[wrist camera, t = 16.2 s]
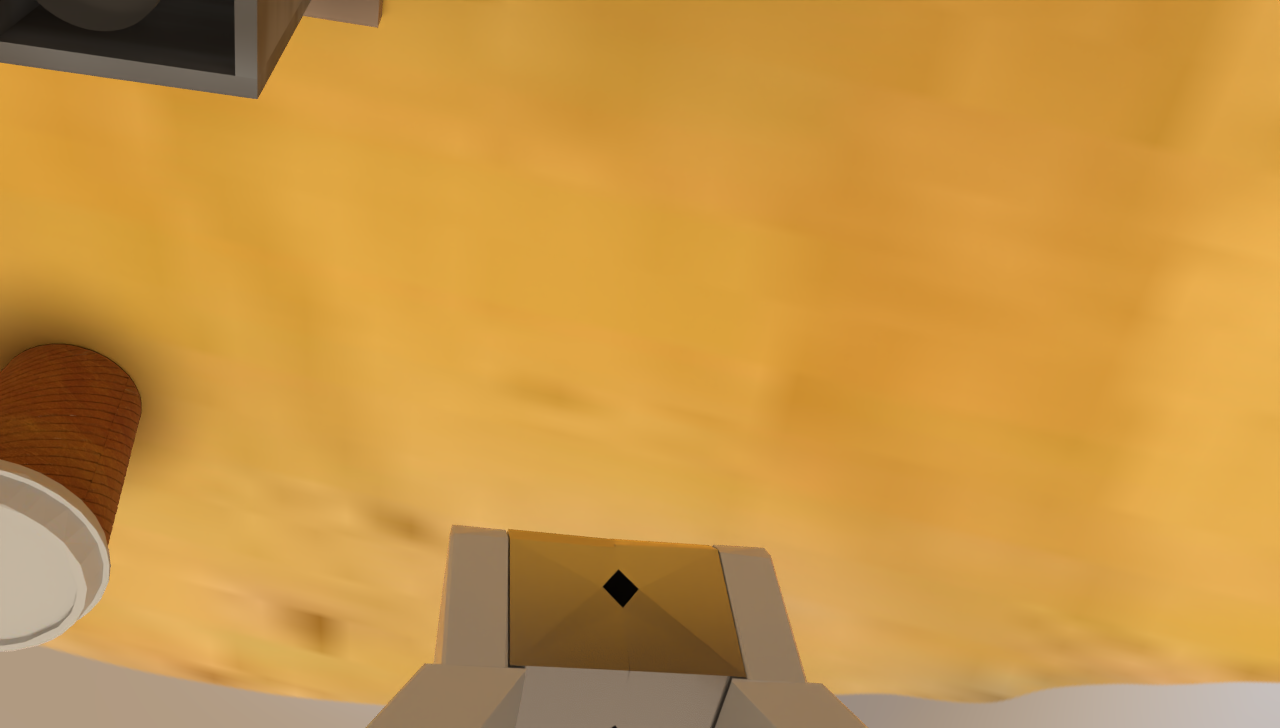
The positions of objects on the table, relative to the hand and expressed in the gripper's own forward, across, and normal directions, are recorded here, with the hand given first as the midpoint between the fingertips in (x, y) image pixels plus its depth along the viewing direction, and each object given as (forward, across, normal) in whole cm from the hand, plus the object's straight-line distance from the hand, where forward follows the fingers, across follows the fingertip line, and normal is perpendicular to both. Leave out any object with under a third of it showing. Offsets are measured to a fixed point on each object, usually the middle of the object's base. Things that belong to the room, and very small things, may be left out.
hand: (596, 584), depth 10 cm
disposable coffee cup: (+37, +19, +27) cm, 50 cm away
